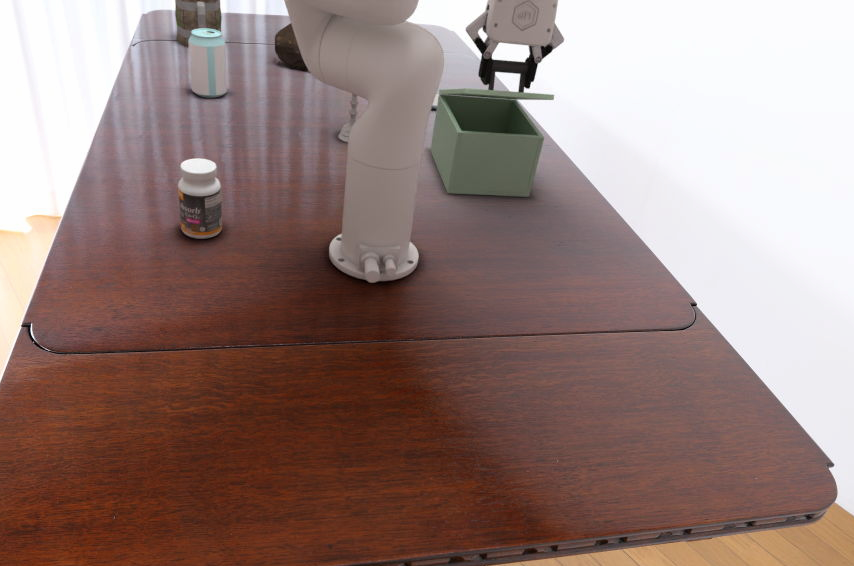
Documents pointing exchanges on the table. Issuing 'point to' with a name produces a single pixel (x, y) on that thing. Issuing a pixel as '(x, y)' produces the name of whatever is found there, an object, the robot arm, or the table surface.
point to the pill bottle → (200, 199)
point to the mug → (196, 17)
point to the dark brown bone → (289, 48)
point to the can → (208, 62)
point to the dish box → (485, 146)
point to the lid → (491, 93)
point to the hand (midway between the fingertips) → (504, 83)
